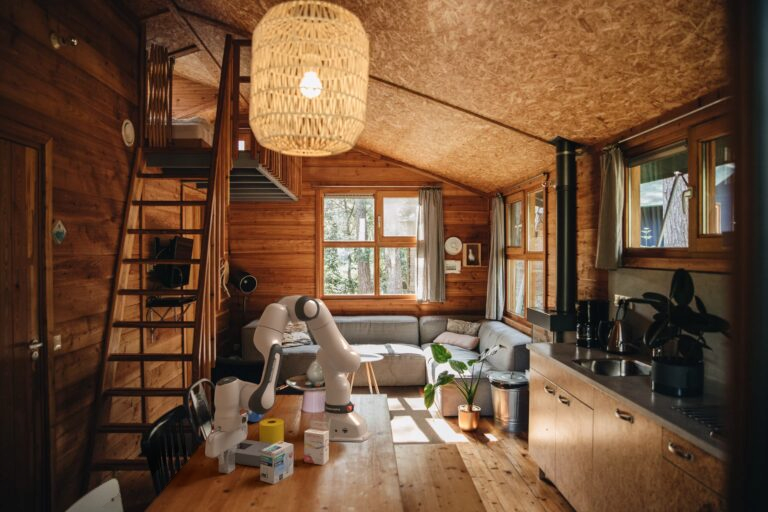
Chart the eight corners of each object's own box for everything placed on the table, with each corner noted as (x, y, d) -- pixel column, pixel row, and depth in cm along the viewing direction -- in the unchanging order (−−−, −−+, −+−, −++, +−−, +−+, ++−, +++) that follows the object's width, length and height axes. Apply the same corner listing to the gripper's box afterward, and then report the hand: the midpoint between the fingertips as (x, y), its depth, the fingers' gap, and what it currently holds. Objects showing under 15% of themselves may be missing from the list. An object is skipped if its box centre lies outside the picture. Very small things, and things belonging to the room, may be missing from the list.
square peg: (234, 469, 179) (234, 444, 179) (228, 473, 175) (228, 448, 175) (225, 467, 180) (225, 443, 180) (218, 472, 176) (218, 447, 176)
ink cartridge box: (303, 462, 186) (303, 423, 186) (309, 457, 190) (309, 419, 191) (323, 465, 183) (323, 426, 183) (329, 460, 187) (329, 422, 188)
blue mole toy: (234, 422, 234) (234, 404, 234) (256, 416, 242) (256, 399, 242) (245, 428, 225) (245, 409, 225) (268, 422, 233) (268, 404, 233)
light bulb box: (273, 485, 166) (274, 453, 167) (259, 480, 170) (259, 449, 170) (294, 473, 176) (294, 443, 176) (280, 469, 179) (280, 440, 179)
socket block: (284, 455, 193) (284, 444, 193) (266, 467, 180) (266, 457, 181) (241, 448, 199) (241, 439, 199) (221, 460, 187) (221, 450, 187)
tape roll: (272, 438, 211) (272, 416, 212) (288, 443, 206) (288, 421, 206) (254, 445, 203) (254, 422, 203) (270, 450, 197) (270, 427, 198)
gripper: (215, 433, 167) (215, 473, 167) (250, 415, 186) (250, 451, 186) (200, 431, 169) (200, 471, 169) (236, 413, 188) (236, 449, 188)
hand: (227, 460), depth 177 cm, fingers closed on square peg, 4 cm apart
